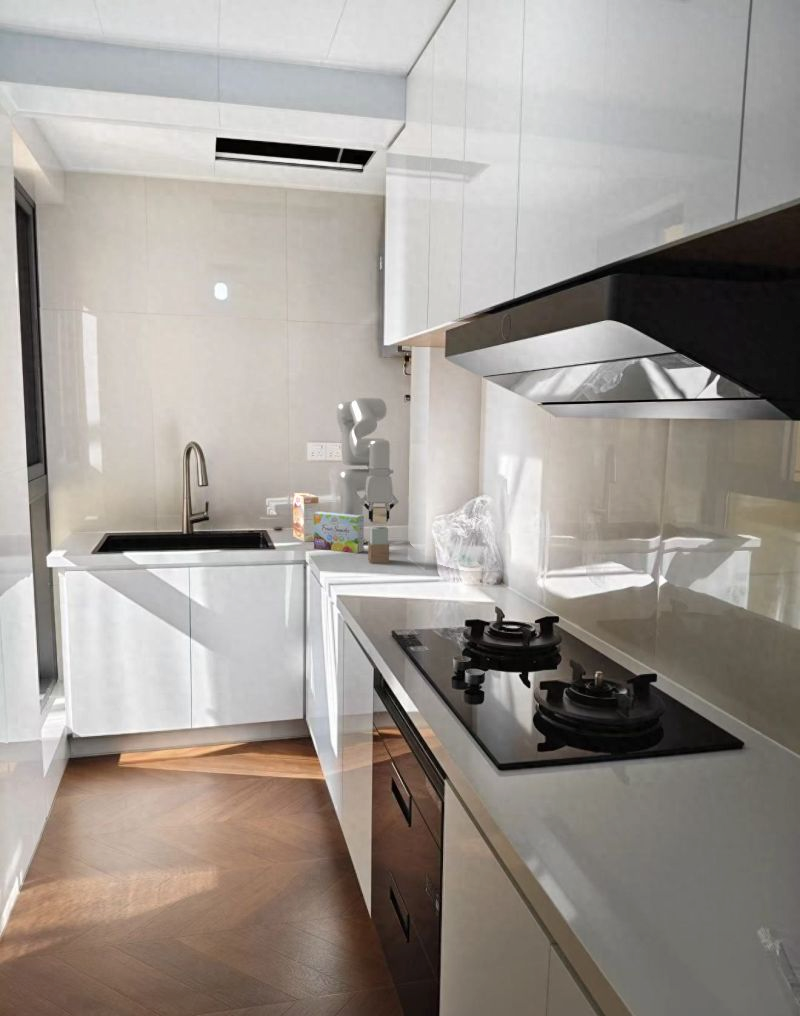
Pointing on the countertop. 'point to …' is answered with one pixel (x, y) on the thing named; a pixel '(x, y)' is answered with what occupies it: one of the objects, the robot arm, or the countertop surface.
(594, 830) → the countertop surface
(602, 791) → the countertop surface
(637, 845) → the countertop surface
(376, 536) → the sage top block
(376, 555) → the walnut base block
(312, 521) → the coffeecake box
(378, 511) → the ash block
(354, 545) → the snack box
